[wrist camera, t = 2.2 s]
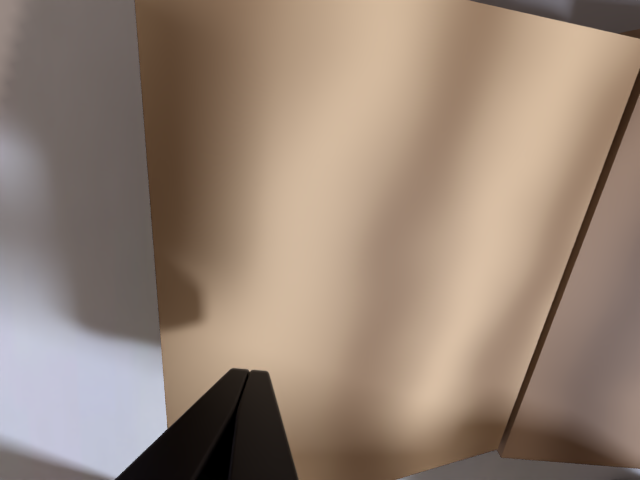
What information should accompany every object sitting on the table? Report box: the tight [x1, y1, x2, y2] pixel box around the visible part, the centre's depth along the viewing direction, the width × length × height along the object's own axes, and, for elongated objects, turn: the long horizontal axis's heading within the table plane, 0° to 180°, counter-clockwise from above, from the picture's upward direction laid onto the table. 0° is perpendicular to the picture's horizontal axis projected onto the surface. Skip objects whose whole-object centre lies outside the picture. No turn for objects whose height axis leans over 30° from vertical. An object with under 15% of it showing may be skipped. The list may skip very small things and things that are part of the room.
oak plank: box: [135, 0, 640, 480], centre depth 13 cm, size 14×17×2 cm
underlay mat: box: [469, 0, 640, 34], centre depth 16 cm, size 22×20×1 cm
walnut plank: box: [497, 29, 640, 469], centre depth 15 cm, size 7×18×2 cm, turn 175°
